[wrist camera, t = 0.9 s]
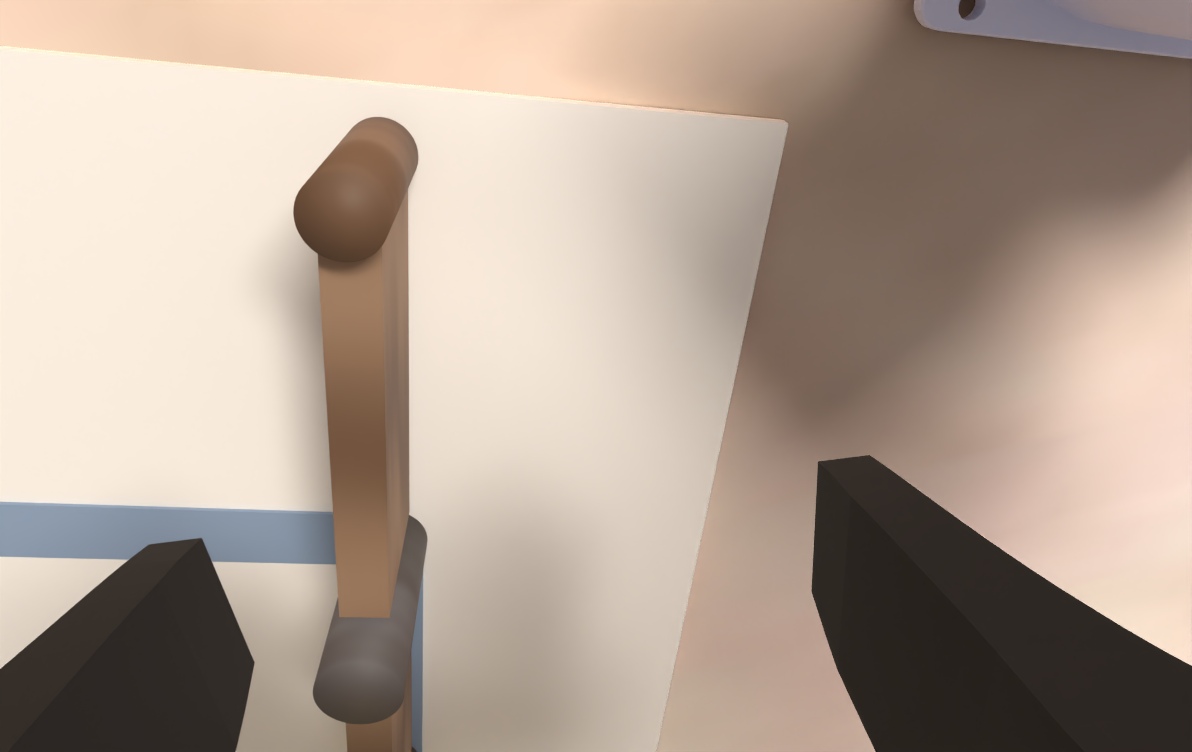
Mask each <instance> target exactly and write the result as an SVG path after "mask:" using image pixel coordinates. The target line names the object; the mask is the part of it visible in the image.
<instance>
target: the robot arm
mask: <svg viewBox="0 0 1192 752" xmlns="http://www.w3.org/2000/svg"><path fill="white" fill-rule="evenodd" d="M960 1H961V0H914V12H915V16H916V19H917V20H918V21H919V23H920V24H921V25H922V26H924V27H927V28H929V29H933V30H937V31H944V32H953V33H962V34H971V35H980V36H989V37H998V38H1008V39H1017V40H1026V41H1035V42H1044V43H1053V44H1062V45H1071V46H1080V47H1089V48H1098V49H1107V50H1116V51H1125V52H1134V53H1143V54H1152V55H1161V56H1170V57H1179V58H1188V59H1192V0H975V6H974V8H973V10H972V12H971V13H970V14H969V15H968V16H966V17H965V18H961V16H960V14H959V12H958V10H959V3H960ZM812 594H813V597H814V600H815V603H816V606H817V610H818V613H819V616H820V619H821V622H822V625H823V628H824V631H825V635H826V637H827V640H828V643H829V646H830V649H831V652H832V655H833V658H834V661H835V664H836V666H837V669H838V672H839V674H840V676H841V678H842V680H843V683H844V685H845V687H846V689H847V691H848V693H849V696H850V698H851V700H852V702H853V704H854V706H855V708H856V711H857V713H858V715H859V717H860V719H861V721H862V723H863V726H864V728H865V730H866V732H867V734H868V736H869V738H870V740H871V743H872V745H873V747H874V749H875V751H876V752H1192V666H1191V665H1189V664H1187V663H1185V662H1183V661H1181V660H1180V659H1178V658H1176V657H1174V656H1172V655H1170V654H1168V653H1167V652H1165V651H1163V650H1161V649H1159V648H1158V647H1156V646H1154V645H1152V644H1151V643H1149V642H1147V641H1145V640H1144V639H1142V638H1140V637H1139V636H1137V635H1135V634H1133V633H1132V632H1130V631H1128V630H1127V629H1125V628H1123V627H1121V626H1120V625H1118V624H1117V623H1115V622H1113V621H1112V620H1110V619H1108V618H1107V617H1105V616H1104V615H1102V614H1100V613H1099V612H1097V611H1096V610H1094V609H1092V608H1091V607H1089V606H1087V605H1086V604H1084V603H1083V602H1081V601H1079V600H1078V599H1076V598H1075V597H1073V596H1071V595H1070V594H1068V593H1066V592H1065V591H1063V590H1062V589H1060V588H1058V587H1057V586H1055V585H1054V584H1052V583H1051V582H1049V581H1048V580H1046V579H1045V578H1043V577H1042V576H1040V575H1039V574H1037V573H1036V572H1034V571H1032V570H1031V569H1029V568H1028V567H1026V566H1025V565H1023V564H1022V563H1021V562H1019V561H1018V560H1016V559H1015V558H1013V557H1012V556H1010V555H1009V554H1007V553H1006V552H1004V551H1003V550H1001V549H1000V548H999V547H997V546H996V545H994V544H993V543H991V542H990V541H988V540H987V539H985V538H984V537H983V536H981V535H980V534H978V533H977V532H976V531H974V530H973V529H971V528H970V527H969V526H967V525H966V524H964V523H963V522H961V521H960V520H959V519H957V518H956V517H955V516H953V515H952V514H950V513H949V512H948V511H946V510H945V509H943V508H942V507H941V506H939V505H938V504H937V503H935V502H934V501H932V500H931V499H930V498H928V497H927V496H926V495H924V494H923V493H921V492H920V491H919V490H917V489H916V488H915V487H913V486H912V485H911V484H909V483H908V482H906V481H905V480H904V479H902V478H901V477H900V476H898V475H897V474H895V473H894V472H893V471H891V470H890V469H888V468H887V467H886V466H884V465H883V464H881V463H880V462H879V461H877V460H876V459H874V458H873V457H871V456H870V455H868V456H860V457H852V458H844V459H836V460H827V461H819V462H818V475H817V495H816V515H815V535H814V555H813V575H812ZM254 663H255V662H254V660H253V657H252V655H251V653H250V650H249V648H248V646H247V643H246V641H245V639H244V636H243V634H242V631H241V629H240V627H239V624H238V622H237V620H236V617H235V615H234V613H233V610H232V608H231V605H230V603H229V601H228V598H227V596H226V594H225V591H224V589H223V587H222V584H221V582H220V579H219V577H218V575H217V572H216V570H215V568H214V565H213V563H212V561H211V558H210V556H209V553H208V551H207V549H206V546H205V544H204V542H203V539H202V538H196V539H188V540H180V541H172V542H164V543H156V544H149V545H147V546H146V547H145V548H143V549H142V550H141V551H139V552H138V553H137V554H135V555H134V556H133V557H131V558H130V559H129V560H128V561H126V562H125V563H124V564H123V565H121V566H120V567H119V568H118V569H117V570H115V571H114V572H113V573H112V574H111V575H109V576H108V577H107V578H106V579H105V580H103V581H102V582H101V583H100V584H99V585H98V586H96V587H95V588H94V589H93V590H92V591H90V592H89V593H88V594H87V595H86V596H85V597H83V598H82V599H81V600H80V601H79V602H78V603H76V604H75V605H74V606H73V607H72V608H71V609H70V610H68V611H67V612H66V613H65V614H64V615H63V616H61V617H60V618H59V619H58V620H57V621H56V622H54V623H53V624H52V625H51V626H50V627H49V628H47V629H46V630H45V631H44V632H43V633H42V634H40V635H39V636H38V637H37V638H36V639H35V640H33V641H32V642H31V643H30V644H29V645H28V646H26V647H25V648H24V649H23V650H22V651H21V652H19V653H18V654H17V655H16V656H15V657H14V658H12V659H11V660H10V661H9V662H8V663H7V664H5V665H4V666H3V667H2V668H1V669H0V752H235V751H236V748H237V744H238V740H239V735H240V731H241V727H242V722H243V718H244V714H245V709H246V704H247V699H248V694H249V689H250V684H251V679H252V674H253V669H254Z"/></svg>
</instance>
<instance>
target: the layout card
mask: <svg viewBox="0 0 1192 752" xmlns="http://www.w3.org/2000/svg"><path fill="white" fill-rule="evenodd" d="M370 117H385V118H389V119H392V120H394V121H396V122H398V123H399V124H401V125H402V126H404V127H405V128H406V129H407V130H408V131H409V133H410V134H411V135H412V137H413V138H414V141H415V143H416V145H417V149H418V165H417V169H416V171H415V174H414V176H413V178H412V181H411V183H410V185H409V188H408V275H409V501H410V512H409V515H410V516H412V517H414V518H415V519H417V520H418V521H419V522H420V523H421V524H422V525H423V527H424V529H425V531H426V533H427V539H428V541H427V548H426V555H425V562H424V568H423V575H422V582H421V588H420V595H419V601H418V608H417V615H416V621H415V628H414V635H413V641H412V648H411V657H412V747H413V748H414V749H415V750H416V751H417V752H656V751H657V746H658V741H659V737H660V732H661V727H662V722H663V718H664V713H665V708H666V704H667V699H668V694H669V689H670V685H671V680H672V675H673V670H674V666H675V661H676V656H677V651H678V647H679V642H680V637H681V632H682V628H683V623H684V618H685V613H686V609H687V604H688V599H689V594H690V590H691V585H692V580H693V575H694V571H695V566H696V561H697V556H698V552H699V547H700V542H701V537H702V533H703V528H704V523H705V518H706V514H707V509H708V504H709V499H710V495H711V490H712V485H713V480H714V476H715V471H716V466H717V461H718V457H719V452H720V447H721V442H722V438H723V433H724V428H725V423H726V419H727V414H728V409H729V405H730V400H731V395H732V390H733V386H734V381H735V376H736V371H737V367H738V362H739V357H740V352H741V348H742V343H743V338H744V333H745V329H746V324H747V319H748V314H749V310H750V305H751V300H752V295H753V291H754V286H755V281H756V276H757V272H758V267H759V262H760V257H761V253H762V248H763V243H764V238H765V234H766V229H767V224H768V219H769V215H770V210H771V205H772V200H773V196H774V191H775V186H776V181H777V177H778V172H779V167H780V162H781V158H782V153H783V148H784V143H785V139H786V134H787V129H788V125H789V124H788V123H787V122H786V121H784V120H781V119H770V118H760V117H749V116H739V115H728V114H717V113H707V112H696V111H686V110H675V109H664V108H654V107H643V106H633V105H622V104H611V103H601V102H590V101H580V100H569V99H558V98H548V97H537V96H527V95H516V94H505V93H495V92H484V91H474V90H463V89H452V88H442V87H431V86H421V85H410V84H399V83H389V82H378V81H368V80H357V79H346V78H336V77H325V76H315V75H304V74H293V73H283V72H272V71H262V70H251V69H240V68H230V67H219V66H209V65H198V64H187V63H177V62H166V61H156V60H145V59H134V58H124V57H113V56H103V55H92V54H81V53H71V52H60V51H50V50H39V49H28V48H18V47H7V46H0V669H1V668H2V667H3V666H4V665H5V664H7V663H8V662H9V661H10V660H11V659H12V658H14V657H15V656H16V655H17V654H18V653H19V652H21V651H22V650H23V649H24V648H25V647H26V646H28V645H29V644H30V643H31V642H32V641H33V640H35V639H36V638H37V637H38V636H39V635H40V634H42V633H43V632H44V631H45V630H46V629H47V628H49V627H50V626H51V625H52V624H53V623H54V622H56V621H57V620H58V619H59V618H60V617H61V616H63V615H64V614H65V613H66V612H67V611H68V610H70V609H71V608H72V607H73V606H74V605H75V604H76V603H78V602H79V601H80V600H81V599H82V598H83V597H85V596H86V595H87V594H88V593H89V592H90V591H92V590H93V589H94V588H95V587H96V586H98V585H99V584H100V583H101V582H102V581H103V580H105V579H106V578H107V577H108V576H109V575H111V574H112V573H113V572H114V571H115V570H117V569H118V568H119V567H120V566H121V565H123V564H124V563H125V562H126V561H128V560H129V559H130V558H131V557H133V556H134V555H135V554H137V553H138V552H139V551H141V550H142V549H143V548H145V547H146V546H147V545H149V544H156V543H164V542H172V541H180V540H188V539H196V538H202V539H203V542H204V544H205V546H206V549H207V551H208V553H209V556H210V558H211V561H212V563H213V565H214V568H215V570H216V572H217V575H218V577H219V579H220V582H221V584H222V587H223V589H224V591H225V594H226V596H227V598H228V601H229V603H230V605H231V608H232V610H233V613H234V615H235V617H236V620H237V622H238V624H239V627H240V629H241V631H242V634H243V636H244V639H245V641H246V643H247V646H248V648H249V650H250V653H251V655H252V657H253V660H254V662H255V663H254V669H253V674H252V679H251V684H250V689H249V694H248V699H247V704H246V709H245V714H244V718H243V722H242V727H241V731H240V735H239V740H238V744H237V748H236V751H235V752H347V738H346V723H345V722H341V721H338V720H335V719H333V718H331V717H329V716H328V715H326V714H325V713H323V712H322V711H321V710H320V709H319V707H318V706H317V705H316V703H315V701H314V698H313V686H314V683H315V679H316V675H317V672H318V668H319V664H320V661H321V657H322V653H323V650H324V646H325V642H326V639H327V635H328V631H329V628H330V624H331V620H332V617H333V613H334V609H335V606H336V602H337V598H338V587H337V571H336V554H335V537H334V521H333V504H332V487H331V470H330V454H329V437H328V420H327V404H326V387H325V370H324V353H323V337H322V320H321V303H320V287H319V270H318V253H316V252H315V251H313V250H312V249H311V248H310V247H309V246H308V245H307V244H306V243H305V242H304V241H303V239H302V238H301V236H300V234H299V233H298V230H297V228H296V225H295V222H294V216H293V208H294V202H295V198H296V196H297V194H298V192H299V190H300V189H301V187H302V186H303V185H304V184H305V183H306V181H307V180H308V179H309V178H310V177H311V176H312V174H313V173H314V172H315V171H316V170H317V169H318V167H319V166H320V165H321V164H322V163H323V161H324V160H325V159H326V158H327V157H328V156H329V154H330V153H331V152H332V151H333V150H334V149H335V147H336V146H337V145H338V144H339V143H340V141H341V140H342V139H343V138H344V137H345V136H346V134H347V133H348V132H349V131H350V130H351V129H352V127H353V126H354V125H356V124H357V123H358V122H360V121H362V120H364V119H366V118H370Z"/></svg>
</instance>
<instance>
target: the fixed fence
mask: <svg viewBox="0 0 1192 752" xmlns="http://www.w3.org/2000/svg"><path fill="white" fill-rule="evenodd" d="M427 541H428V539H427V533H426V531H425V529H424V527H423V525H422V524H421V523H420V522H419V521H418V520H417V519H415V518H414V517H412V516H410V515H409V517H408V522H407V528H406V533H405V538H404V544H403V549H402V554H401V559H400V565H399V570H398V575H397V581H396V586H395V591H394V596H393V602H392V607H391V612H390V618H361V617H339V604H338V598H337V602H336V606H335V609H334V613H333V617H332V620H331V624H330V628H329V631H328V635H327V639H326V642H325V646H324V650H323V653H322V657H321V661H320V664H319V668H318V672H317V675H316V679H315V683H314V686H313V698H314V701H315V703H316V705H317V706H318V707H319V709H320V710H321V711H322V712H323V713H325V714H326V715H328V716H329V717H331V718H333V719H335V720H338V721H341V722H345V723H346V738H347V752H417V751H416V750H415V749H414V748H413V747H412V657H411V648H412V641H413V635H414V628H415V621H416V615H417V608H418V601H419V595H420V588H421V582H422V575H423V568H424V562H425V555H426V548H427Z"/></svg>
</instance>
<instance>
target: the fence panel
mask: <svg viewBox="0 0 1192 752" xmlns="http://www.w3.org/2000/svg"><path fill="white" fill-rule="evenodd" d="M417 165H418V149H417V145H416V143H415V141H414V138H413V137H412V135H411V134H410V133H409V131H408V130H407V129H406V128H405V127H404V126H402V125H401V124H399V123H398V122H396V121H394V120H392V119H389V118H385V117H370V118H366V119H364V120H362V121H360V122H358V123H357V124H356V125H354V126H353V127H352V129H351V130H350V131H349V132H348V133H347V134H346V136H345V137H344V138H343V139H342V140H341V141H340V143H339V144H338V145H337V146H336V147H335V149H334V150H333V151H332V152H331V153H330V154H329V156H328V157H327V158H326V159H325V160H324V161H323V163H322V164H321V165H320V166H319V167H318V169H317V170H316V171H315V172H314V173H313V174H312V176H311V177H310V178H309V179H308V180H307V181H306V183H305V184H304V185H303V186H302V187H301V189H300V190H299V192H298V194H297V196H296V198H295V202H294V208H293V216H294V222H295V225H296V228H297V230H298V233H299V234H300V236H301V238H302V239H303V241H304V242H305V243H306V244H307V245H308V246H309V247H310V248H311V249H312V250H313V251H315V252H316V253H318V270H319V287H320V303H321V320H322V337H323V353H324V370H325V387H326V404H327V420H328V437H329V454H330V470H331V487H332V504H333V521H334V537H335V554H336V571H337V587H338V604H339V617H361V618H390V612H391V607H392V602H393V596H394V591H395V586H396V581H397V575H398V570H399V565H400V559H401V554H402V549H403V544H404V538H405V533H406V528H407V522H408V517H409V512H410V501H409V275H408V188H409V185H410V183H411V181H412V178H413V176H414V174H415V171H416V169H417Z"/></svg>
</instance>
